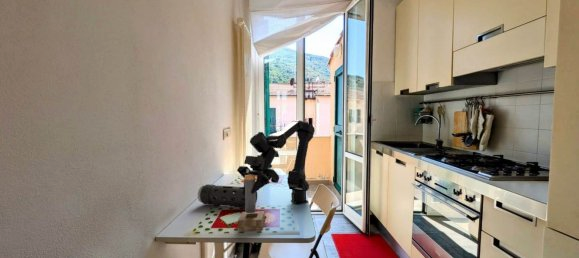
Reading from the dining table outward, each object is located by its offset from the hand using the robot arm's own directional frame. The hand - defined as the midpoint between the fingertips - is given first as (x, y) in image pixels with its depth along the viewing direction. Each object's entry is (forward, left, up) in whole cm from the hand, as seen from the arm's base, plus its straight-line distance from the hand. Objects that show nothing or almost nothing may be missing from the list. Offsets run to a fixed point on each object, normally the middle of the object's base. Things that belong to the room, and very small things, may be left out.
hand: (247, 192), depth 101 cm
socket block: (-1, 0, -13) cm, 14 cm away
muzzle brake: (+1, -28, -14) cm, 32 cm away
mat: (+3, -11, -13) cm, 18 cm away
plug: (-1, 0, -8) cm, 8 cm away
